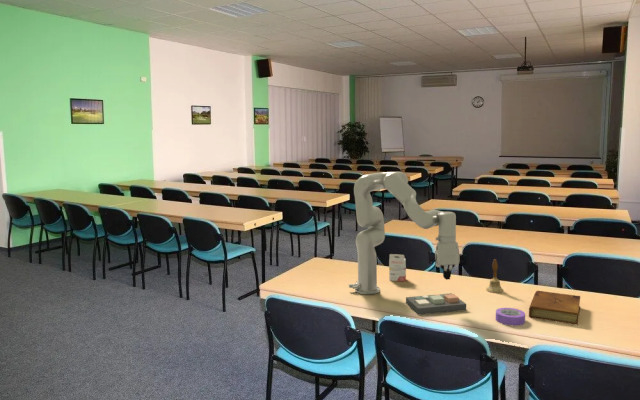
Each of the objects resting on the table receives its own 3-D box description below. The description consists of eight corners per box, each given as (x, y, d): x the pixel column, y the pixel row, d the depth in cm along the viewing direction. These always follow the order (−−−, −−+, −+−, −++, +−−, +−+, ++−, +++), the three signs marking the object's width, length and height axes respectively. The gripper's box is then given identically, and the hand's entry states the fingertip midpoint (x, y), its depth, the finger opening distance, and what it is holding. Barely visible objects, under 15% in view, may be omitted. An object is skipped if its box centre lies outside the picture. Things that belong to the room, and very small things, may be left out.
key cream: (419, 309, 223) (419, 303, 223) (415, 305, 228) (415, 300, 227) (429, 308, 224) (429, 302, 223) (425, 304, 229) (425, 299, 228)
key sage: (433, 305, 224) (433, 299, 224) (429, 301, 229) (429, 296, 228) (444, 304, 225) (444, 298, 224) (439, 300, 230) (439, 295, 229)
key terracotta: (448, 303, 225) (448, 298, 225) (443, 300, 230) (443, 294, 230) (458, 302, 226) (458, 297, 226) (453, 299, 231) (453, 293, 231)
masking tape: (501, 313, 219) (501, 305, 219) (528, 319, 212) (528, 311, 211) (491, 322, 210) (491, 313, 210) (519, 328, 203) (520, 319, 202)
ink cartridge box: (406, 278, 272) (406, 252, 269) (404, 281, 267) (404, 255, 265) (390, 277, 274) (390, 251, 272) (389, 280, 269) (388, 254, 267)
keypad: (417, 314, 219) (417, 306, 219) (405, 303, 234) (405, 295, 233) (466, 310, 223) (466, 302, 223) (451, 299, 238) (451, 291, 237)
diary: (534, 302, 234) (535, 290, 233) (579, 308, 225) (580, 296, 224) (528, 318, 214) (529, 305, 213) (577, 325, 205) (578, 312, 204)
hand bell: (498, 294, 244) (499, 262, 241) (482, 290, 250) (483, 259, 248) (506, 290, 249) (507, 259, 247) (491, 286, 255) (492, 256, 253)
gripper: (434, 242, 218) (434, 282, 221) (466, 239, 221) (466, 279, 223) (428, 238, 226) (428, 277, 228) (459, 236, 228) (458, 275, 231)
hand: (446, 278), depth 226 cm, fingers closed
